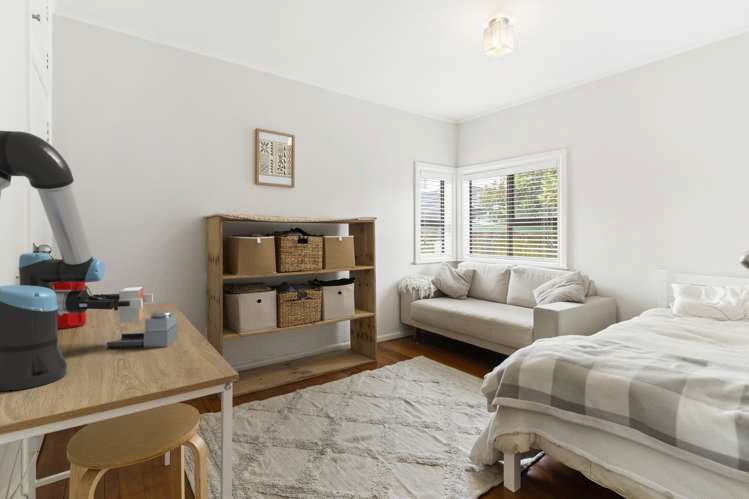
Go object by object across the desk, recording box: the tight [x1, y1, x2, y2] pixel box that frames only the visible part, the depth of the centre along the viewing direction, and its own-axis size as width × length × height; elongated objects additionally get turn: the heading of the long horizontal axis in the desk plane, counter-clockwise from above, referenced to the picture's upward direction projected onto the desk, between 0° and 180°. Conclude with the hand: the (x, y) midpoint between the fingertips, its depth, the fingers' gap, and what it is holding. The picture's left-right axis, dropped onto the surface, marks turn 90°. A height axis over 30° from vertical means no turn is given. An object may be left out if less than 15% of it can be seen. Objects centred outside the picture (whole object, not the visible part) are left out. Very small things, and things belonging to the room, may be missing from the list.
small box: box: [118, 286, 145, 324], centre depth 128 cm, size 8×6×10 cm
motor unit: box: [106, 310, 179, 350], centre depth 128 cm, size 11×18×10 cm, turn 101°
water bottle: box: [52, 282, 87, 330], centre depth 150 cm, size 9×11×25 cm
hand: (147, 300), depth 128 cm, fingers closed on small box, 9 cm apart
